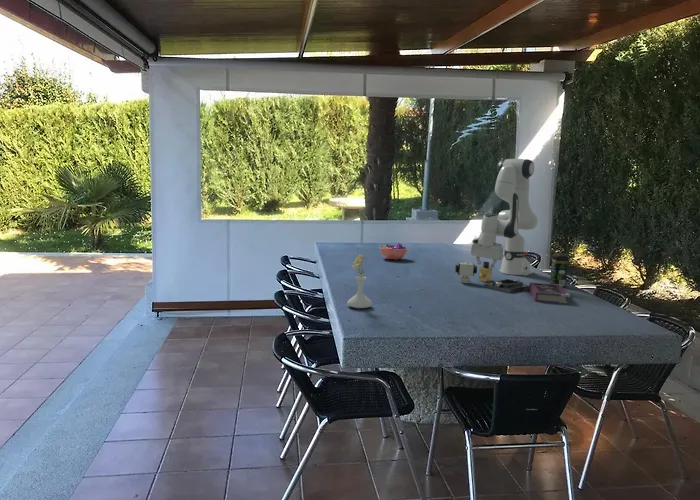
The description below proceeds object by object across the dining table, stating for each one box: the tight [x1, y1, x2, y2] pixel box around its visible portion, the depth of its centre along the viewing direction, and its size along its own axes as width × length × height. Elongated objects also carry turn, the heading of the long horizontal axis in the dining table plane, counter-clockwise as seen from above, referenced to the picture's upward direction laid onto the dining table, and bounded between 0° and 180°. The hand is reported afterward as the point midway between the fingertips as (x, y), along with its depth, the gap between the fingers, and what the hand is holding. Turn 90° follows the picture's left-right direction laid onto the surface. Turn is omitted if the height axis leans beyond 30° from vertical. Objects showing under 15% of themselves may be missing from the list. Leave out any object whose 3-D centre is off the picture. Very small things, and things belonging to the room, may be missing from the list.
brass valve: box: [478, 261, 493, 283], centre depth 333 cm, size 9×5×11 cm, turn 131°
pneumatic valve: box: [454, 261, 478, 284], centre depth 326 cm, size 6×12×12 cm, turn 87°
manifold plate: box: [483, 277, 530, 294], centre depth 316 cm, size 20×16×4 cm
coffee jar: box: [549, 252, 569, 288], centre depth 327 cm, size 10×8×19 cm
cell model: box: [379, 242, 410, 261], centre depth 392 cm, size 17×20×11 cm
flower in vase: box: [346, 253, 373, 309], centre depth 260 cm, size 13×11×25 cm
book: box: [528, 282, 571, 304], centre depth 299 cm, size 25×16×5 cm, turn 169°
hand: (485, 265), depth 332 cm, fingers open, 8 cm apart
